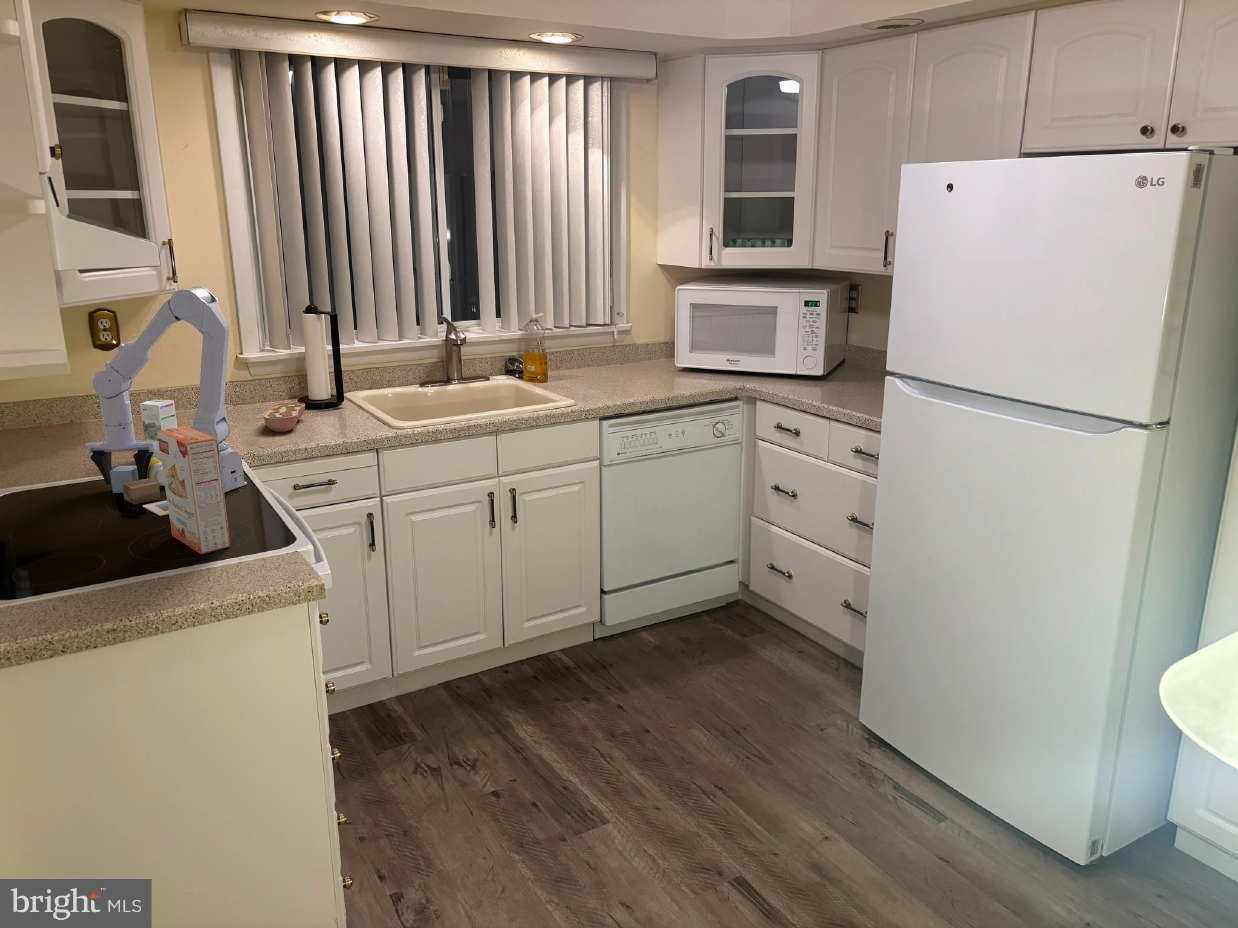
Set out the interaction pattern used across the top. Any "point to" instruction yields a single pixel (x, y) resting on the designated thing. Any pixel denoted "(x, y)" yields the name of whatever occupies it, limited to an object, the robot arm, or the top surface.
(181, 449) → the cracker box
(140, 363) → the robot arm
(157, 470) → the supplement bottle
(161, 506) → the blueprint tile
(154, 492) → the walnut base
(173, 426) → the syrup box
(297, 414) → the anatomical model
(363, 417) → the top surface
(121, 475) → the light blue block
